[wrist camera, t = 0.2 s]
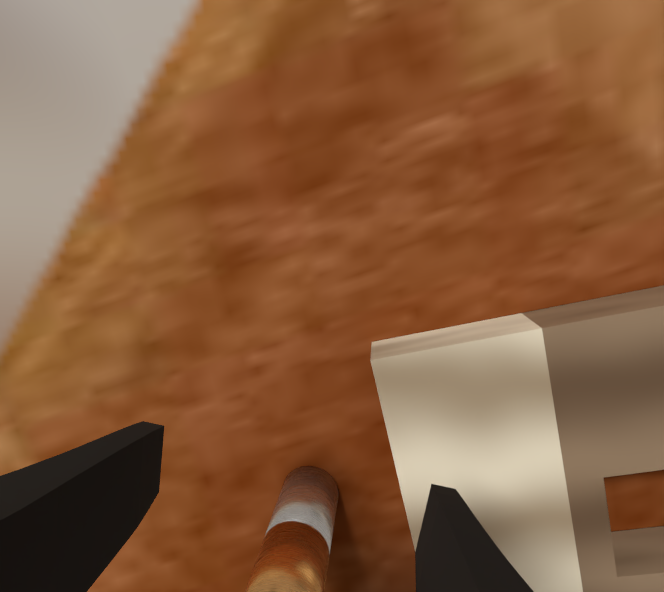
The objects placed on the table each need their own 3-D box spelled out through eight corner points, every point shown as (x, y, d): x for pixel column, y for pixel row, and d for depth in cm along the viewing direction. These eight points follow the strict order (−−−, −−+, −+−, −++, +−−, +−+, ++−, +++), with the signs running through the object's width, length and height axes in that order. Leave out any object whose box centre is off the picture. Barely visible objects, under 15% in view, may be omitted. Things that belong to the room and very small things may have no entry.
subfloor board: (812, 633, 21) (870, 690, 18) (445, 658, 23) (452, 710, 21) (795, 259, 17) (862, 268, 15) (371, 342, 20) (370, 360, 18)
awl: (344, 512, 22) (324, 674, 14) (291, 518, 23) (244, 679, 15) (331, 462, 22) (303, 602, 14) (277, 470, 22) (221, 610, 14)
